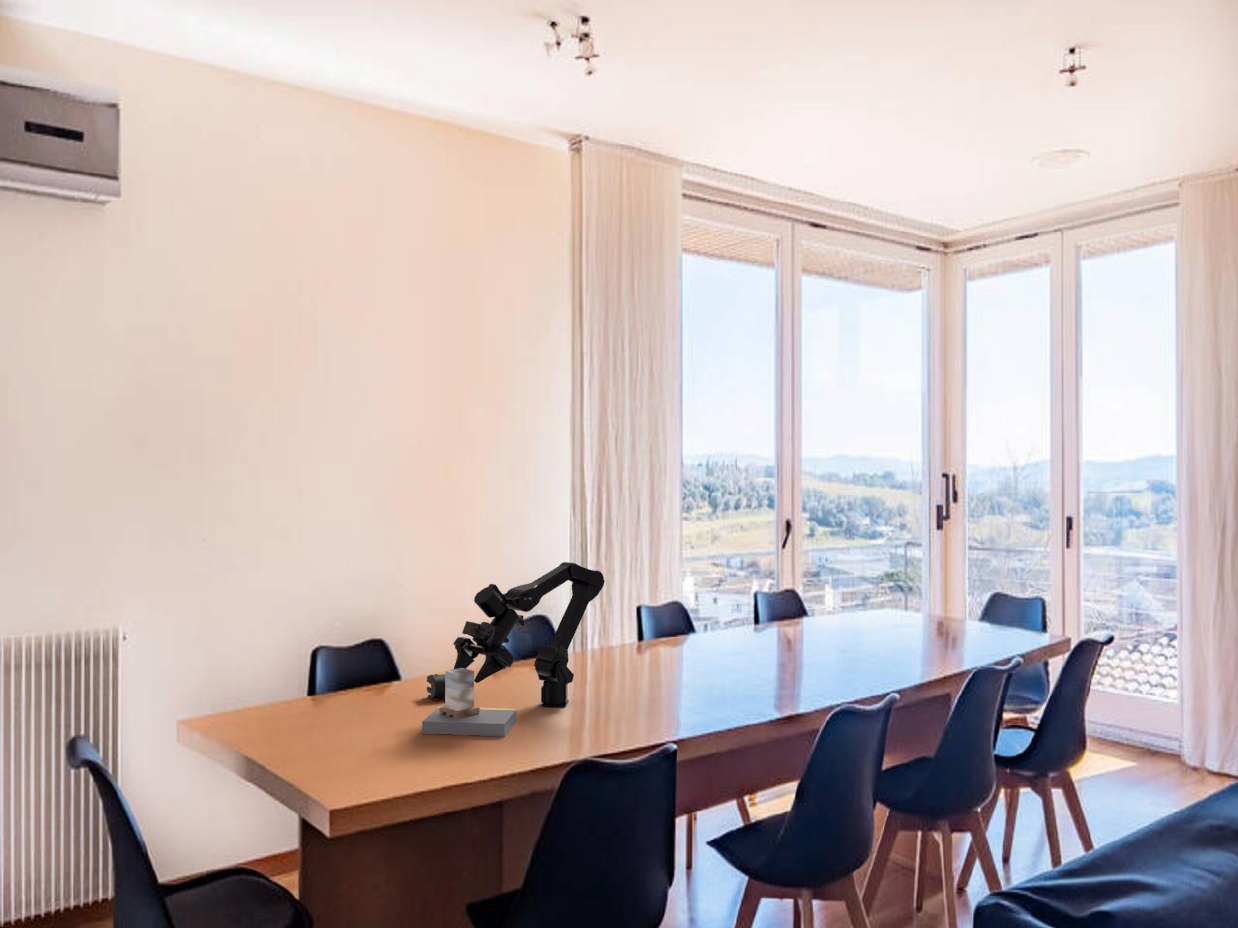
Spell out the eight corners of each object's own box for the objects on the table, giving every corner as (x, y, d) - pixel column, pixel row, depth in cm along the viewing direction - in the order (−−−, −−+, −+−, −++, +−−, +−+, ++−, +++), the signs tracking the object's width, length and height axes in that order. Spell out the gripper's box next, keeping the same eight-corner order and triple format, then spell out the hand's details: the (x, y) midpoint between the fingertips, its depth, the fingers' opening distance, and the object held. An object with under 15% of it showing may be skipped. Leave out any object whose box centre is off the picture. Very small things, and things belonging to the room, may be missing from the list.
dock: (516, 721, 234) (516, 708, 234) (504, 736, 220) (504, 723, 220) (438, 718, 236) (438, 706, 236) (422, 733, 222) (422, 720, 222)
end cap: (435, 702, 253) (435, 677, 253) (425, 697, 259) (425, 673, 259) (469, 698, 258) (469, 673, 258) (458, 693, 264) (458, 669, 264)
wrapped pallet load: (462, 708, 234) (462, 666, 234) (479, 713, 229) (479, 670, 229) (439, 713, 229) (439, 670, 229) (456, 718, 224) (456, 675, 224)
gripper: (459, 605, 241) (423, 653, 233) (505, 613, 228) (468, 664, 220) (484, 632, 246) (449, 680, 238) (529, 641, 233) (494, 692, 225)
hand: (464, 678), depth 230 cm, fingers open, 9 cm apart
